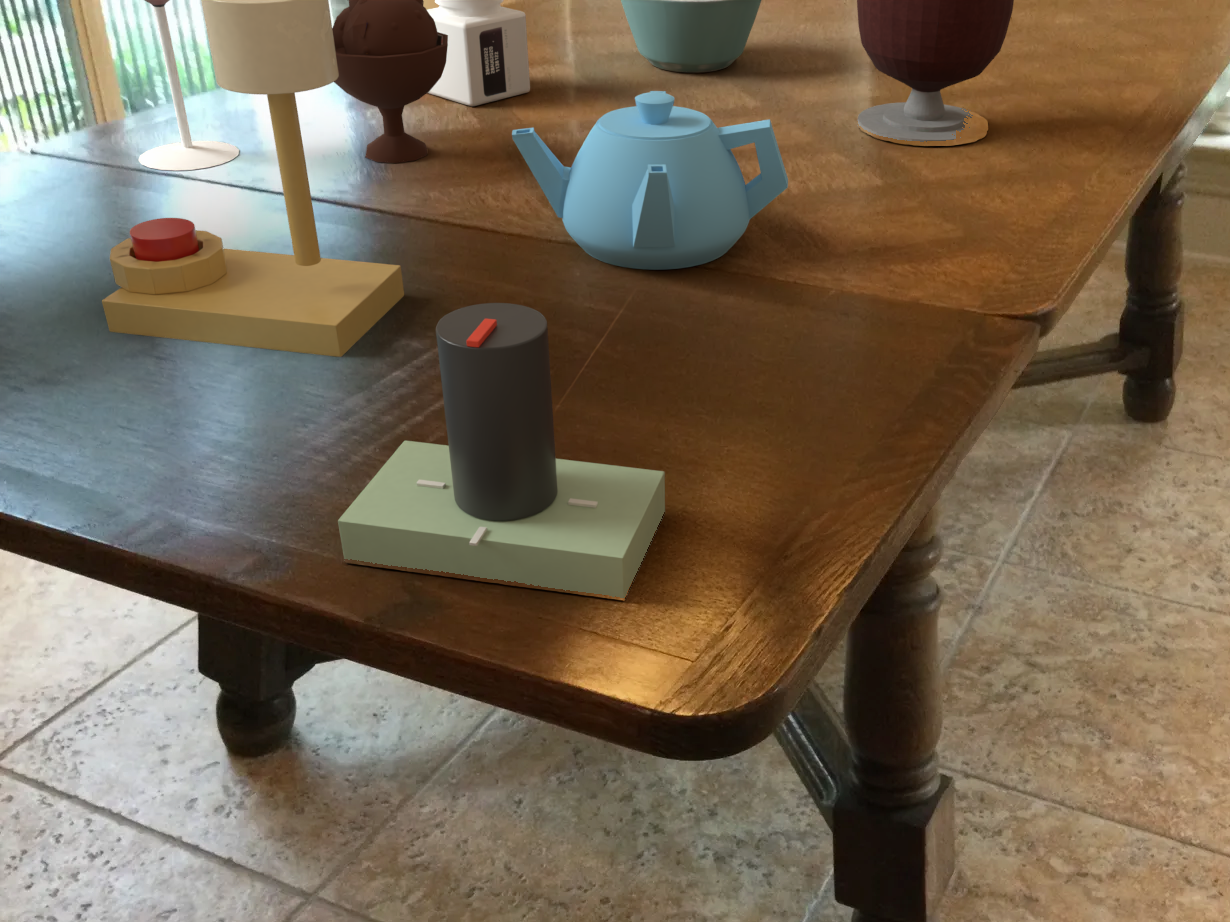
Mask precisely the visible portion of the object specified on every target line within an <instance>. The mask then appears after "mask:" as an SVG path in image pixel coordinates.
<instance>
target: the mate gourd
mask: <svg viewBox="0 0 1230 922" xmlns="http://www.w3.org/2000/svg"><path fill="white" fill-rule="evenodd" d="M1014 2H1015V0H856V9H857V10H856V11H857V22H858V24H857V25H858V31H859V38H860V42H861V46H862V48H863V49H864V50H865V52H866V54H867V56H868V58H869V60H870V61H871V63H872V64H873V66H874V67H875V69H876V70H878V72H880V73H882V74H884V75H886V76H888V77H890V78H892V79H894V80H896V81H898V82H900V83H903V84H904V85H905V86H907V87H909V88H910V89H911V91H910V94H909V95H908V98H907V100H906V101H905V102H904V101H903V102H889V103H883V104H877V105H874V106H871V107H867V108H866V109H864V110H862V111H861V112H860V113H858V115H857V121H858V124H859V126H861V127H862V128H863V129H864V130H867V131H868V132H871V133H873V134H876V135H879V136H883V137H888V138H893V139H897V140H905V141H906V140H907V141H920V142H924V141H926V142H927V141H946V140H954V139H956V130H957V131H959V132H961V130H964V129H963V128H965V125H964V124H963V122H964V123H966V122H965V121H964V118H967V117H966V116H968V117H970V118H972V117H971V116H973V115H971V114H970V113H969V111H968V112H965V111H967V110H966V109H967V108H963V107H959V106H955V105H950V104H944V101H943V98H942V93H941V91H942V90H943V89H946V88H948V87H951V86H954V85H956V84H960V83H962V82H965V81H969V80H971V79H975V78H977V77H978V76H980V75H981V74H982V73H983V71H985V70H986V68H987V67H988V66H989V65H990V64H991V63H992V61H993V60H994V59H995V58H996V57H997V55H998V54H999V53H1000V52H1001V50H1002V47H1003V44H1004V42H1005V39H1006V36H1007V33H1008V30H1009V25H1010V22H1011V18H1012V15H1013V11H1014ZM962 109H963V110H962ZM964 110H965V111H964ZM968 114H969V115H968ZM970 115H971V116H970ZM967 119H968V118H967ZM966 124H968V123H966ZM962 127H963V128H962ZM969 128H970V127H969ZM952 134H953V135H952ZM954 135H955V136H954ZM960 138H961V137H960Z"/></svg>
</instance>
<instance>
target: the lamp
mask: <svg viewBox="0 0 1230 922" xmlns="http://www.w3.org/2000/svg"><path fill="white" fill-rule="evenodd" d="M200 1H201V6H202V13H203V18H204V22H205V27H206V33H207V39H208V45H209V50H210V54H211V60H212V65H213V70H214V77H215V82H216V84H217V86H219V88H221V89H223V90H226V91H229V92H233V93H237V94H238V93H240V94H246V95H266V97H267V103H268V109H269V116H270V120H271V121H270V122H271V126H272V131H273V133H272V134H273V139H274V146H275V150H276V151H275V152H276V156H277V162H278V169H279V175H280V180H281V187H282V193H283V198H284V204H285V210H286V216H287V222H288V228H289V233H290V238H291V245H292V252H293V255H294V258H295V262H296V264H298V265H301V266H311V265H315V264H318V263H319V262H320V261H321V258H322V257H321V252H320V245H319V239H318V238H319V237H318V232H317V226H316V219H315V212H314V207H313V201H312V194H311V188H310V181H309V175H308V169H307V162H306V157H305V151H304V144H303V136H302V132H301V124H300V117H299V111H298V105H297V100H296V99H297V98H296V93H303V92H308V91H313V90H316V89H321V88H323V87H325V86H329V85H331V84H332V83H334V81H335V80H337V78H338V76H339V73H338V66H337V59H336V52H335V45H334V37H333V30H332V28H333V24H332V17H331V10H330V3H329V1H330V0H200Z"/></svg>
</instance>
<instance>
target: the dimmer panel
mask: <svg viewBox="0 0 1230 922" xmlns="http://www.w3.org/2000/svg"><path fill="white" fill-rule="evenodd" d="M556 473H557V490H558V492H557V496H556V498H555V500H554V501H553V503H552V504H551V505H550V506H549V507H547V508H546V509H545V510H543V511H541V512H539V513H537V514H535V515H532V516H529V517H526V518H522V519H517V520H509V521H493V520H485V519H480V518H477V517H474V516H471V515H469V514H467V513H465V512H464V511H462V510H461V509H460V508H459V506H458V505H457V504H456V502H455V498H454V490H453V481H452V472H451V463H450V454H449V445H446V444H437V443H431V442H423V441H422V442H421V441H414V440H413V441H412V440H404V441H403V442H402V443H401V444H400V445H399V446H398V447H397V448H396V450H395V451H394V453H392V455H391V456H390V457H389V458H388V460H386V462H385V463H384V464H383V466H382V467H381V468H380V469H379V470H378V472H377V473H376V474H375V475H374V476H373V477H372V479H371V480H370V481H369V483H367V485H366V486H365V487H364V488H363V490H362V491H360V493H359V494H358V496H357V497H356V498H355V499H354V500H353V502H352V503H351V504H350V505H349V507H347V509H346V510H345V511H344V512H343V514H342V515H341V516H340V517H339V519H338V520H337V523H338V529H339V535H340V542H341V548H342V553H343V560H344V559H348V560H350V559H352V560H357V561H358V560H359V561H364V562H370V563H371V562H372V563H373V564H375V563H377V564H383V565H388V566H391V565H392V566H398V567H401V566H402V567H407V568H413V569H415V568H417V569H423V570H425V569H427V570H429V571H430V570H433V571H439V572H441V571H443V572H445V573H446V572H449V573H455V574H461V575H463V574H464V575H468V576H474V577H480V578H487V579H493V580H494V579H498V580H504V581H506V582H507V581H511V582H514V581H516V582H518V583H525V584H527V585H530V584H532V585H534V586H538V585H539V586H541V587H548V588H555V589H563V590H565V591H566V590H570V591H578V592H586V593H594V594H602V595H609V596H612V597H615V596H616V597H620V598H625V596H626V594H627V591H628V589H629V587H630V585H631V583H632V581H633V579H634V577H635V575H636V573H637V571H638V572H639V570H638V568H639V567H640V568H641V566H642V564H641V562H642V561H643V562H644V560H643V558H644V559H645V557H646V555H645V553H646V552H647V553H648V551H647V549H648V547H649V545H650V546H651V544H650V542H651V541H652V542H653V540H652V538H653V536H654V533H655V531H656V530H657V531H658V529H657V527H658V525H659V523H660V521H661V522H662V520H663V518H662V516H663V514H664V512H665V513H666V481H665V480H666V479H665V478H666V477H665V476H666V472H665V471H663V470H655V469H645V468H640V467H639V468H637V467H630V466H621V465H615V464H607V463H606V464H605V463H597V462H589V461H581V460H580V461H579V460H571V459H570V460H569V459H563V458H556ZM664 515H665V514H664ZM663 517H664V516H663ZM661 519H662V520H661ZM660 524H661V523H660ZM659 526H660V525H659ZM658 528H659V527H658ZM657 531H656V532H657ZM655 534H656V533H655ZM654 537H655V536H654ZM653 539H654V538H653ZM652 542H651V543H652ZM649 548H650V547H649ZM648 550H649V549H648ZM647 553H646V554H647ZM644 556H645V557H644ZM643 562H642V563H643ZM640 565H641V566H640ZM640 568H639V569H640ZM637 574H638V573H637ZM636 576H637V575H636ZM635 578H636V577H635ZM634 580H635V579H634ZM633 582H634V581H633ZM627 595H628V594H627Z"/></svg>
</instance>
